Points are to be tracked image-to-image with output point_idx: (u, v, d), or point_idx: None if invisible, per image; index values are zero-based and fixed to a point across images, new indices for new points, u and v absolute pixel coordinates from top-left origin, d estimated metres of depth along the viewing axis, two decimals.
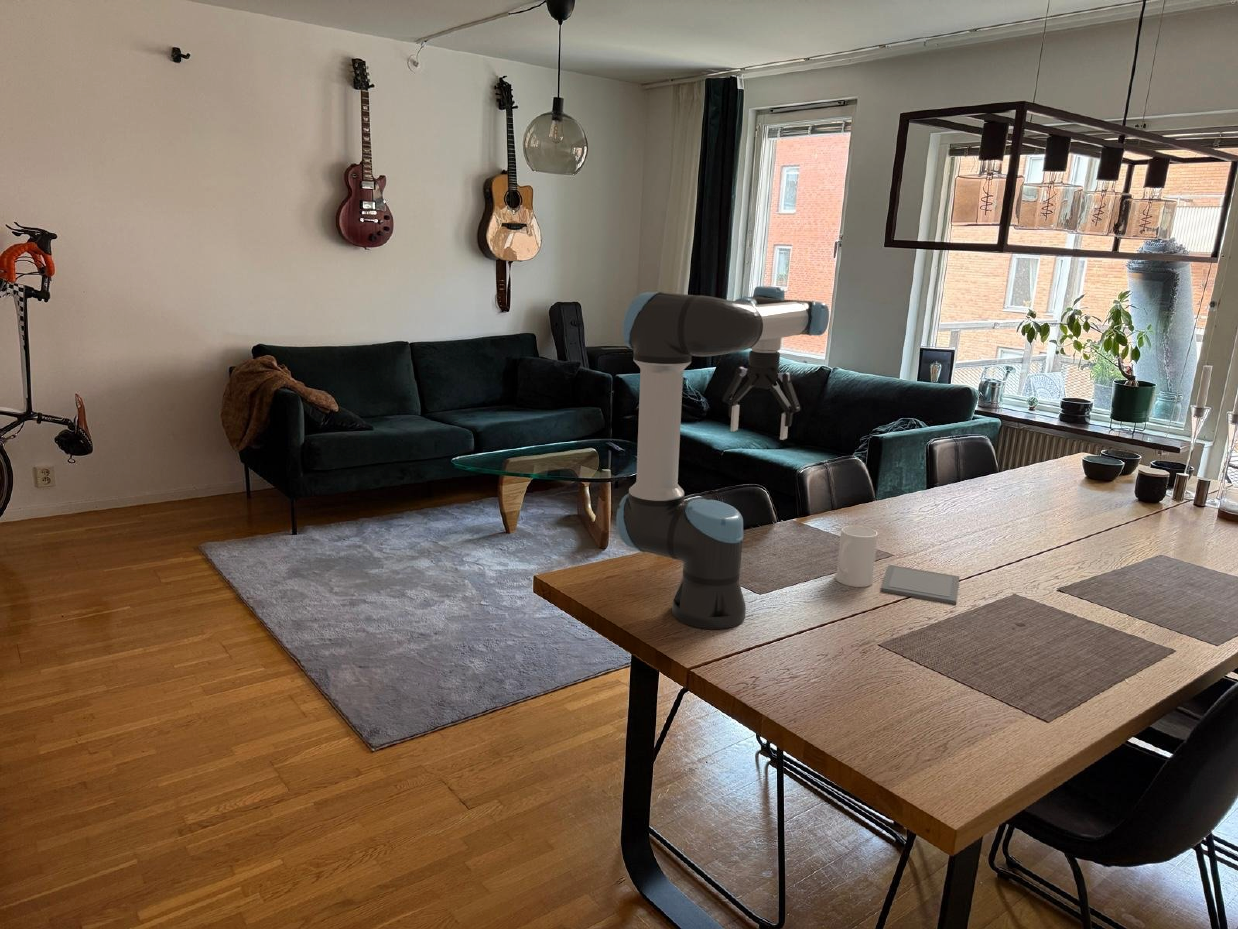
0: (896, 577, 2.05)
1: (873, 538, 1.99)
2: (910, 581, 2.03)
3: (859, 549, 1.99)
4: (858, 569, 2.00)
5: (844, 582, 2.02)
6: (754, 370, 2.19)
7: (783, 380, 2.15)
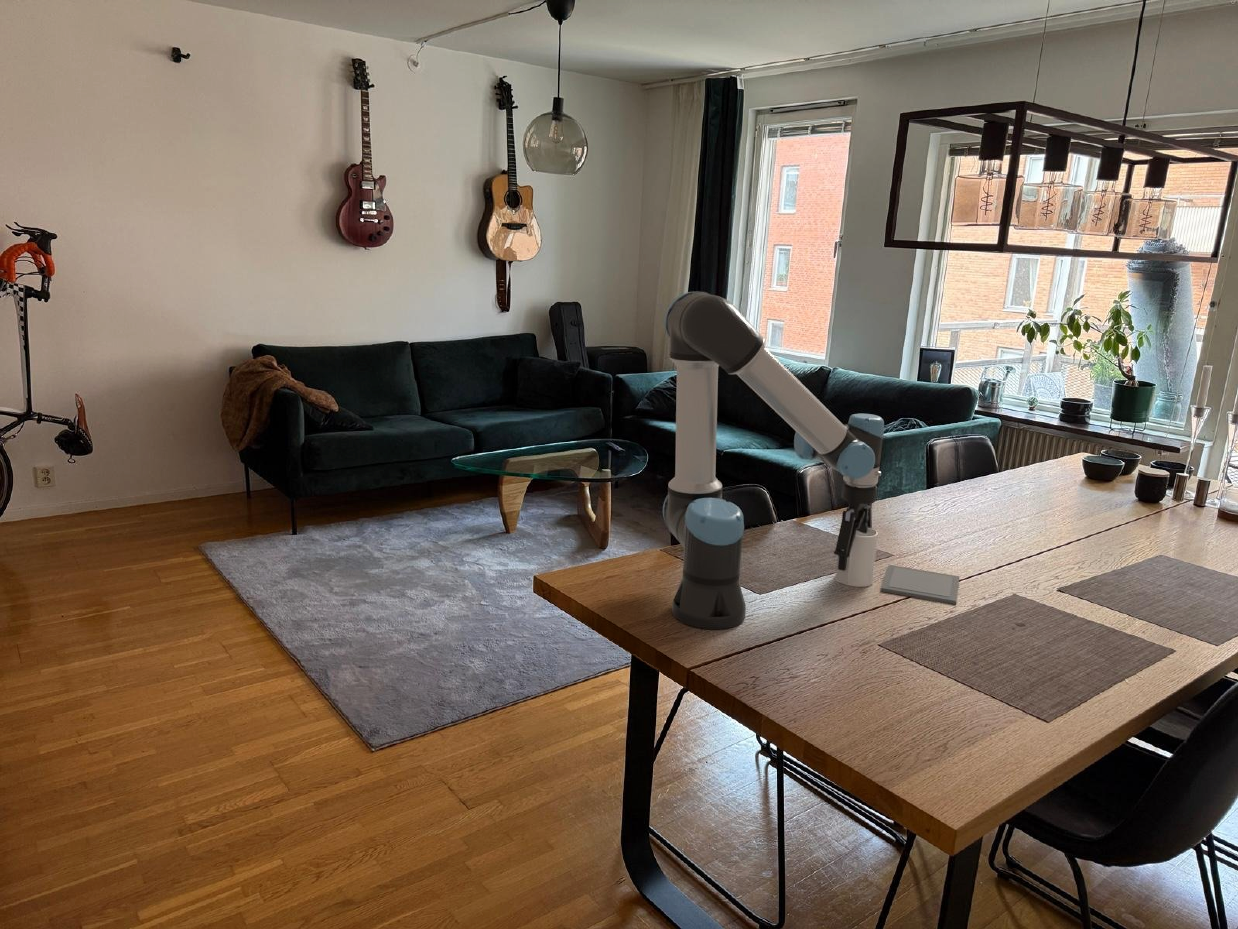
0: (896, 577, 2.05)
1: (873, 538, 1.99)
2: (910, 581, 2.03)
3: (859, 549, 1.99)
4: (858, 569, 2.00)
5: None
6: None
7: None
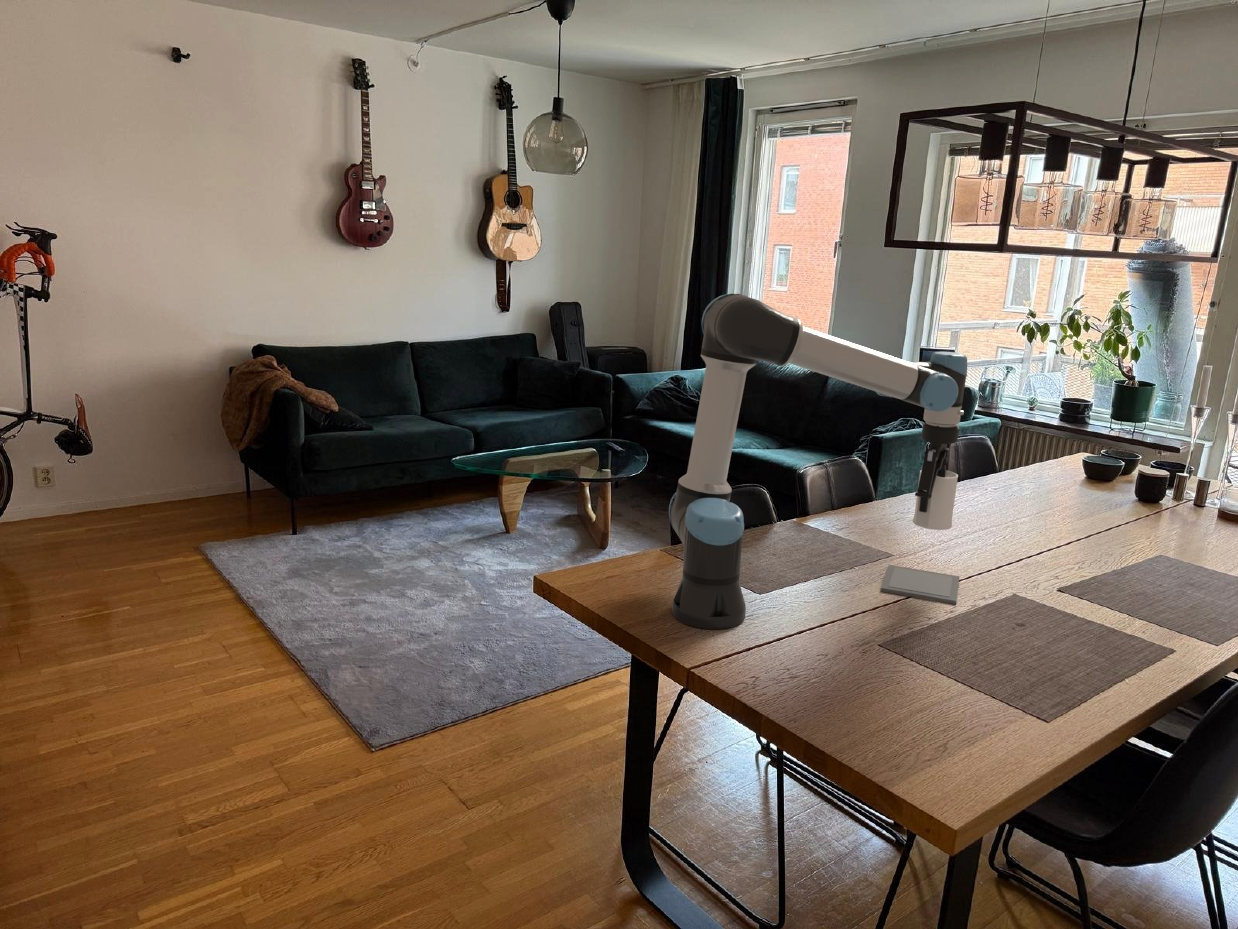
0: (896, 577, 2.05)
1: (954, 479, 1.94)
2: (910, 581, 2.03)
3: (940, 491, 1.94)
4: (938, 511, 1.96)
5: None
6: None
7: None
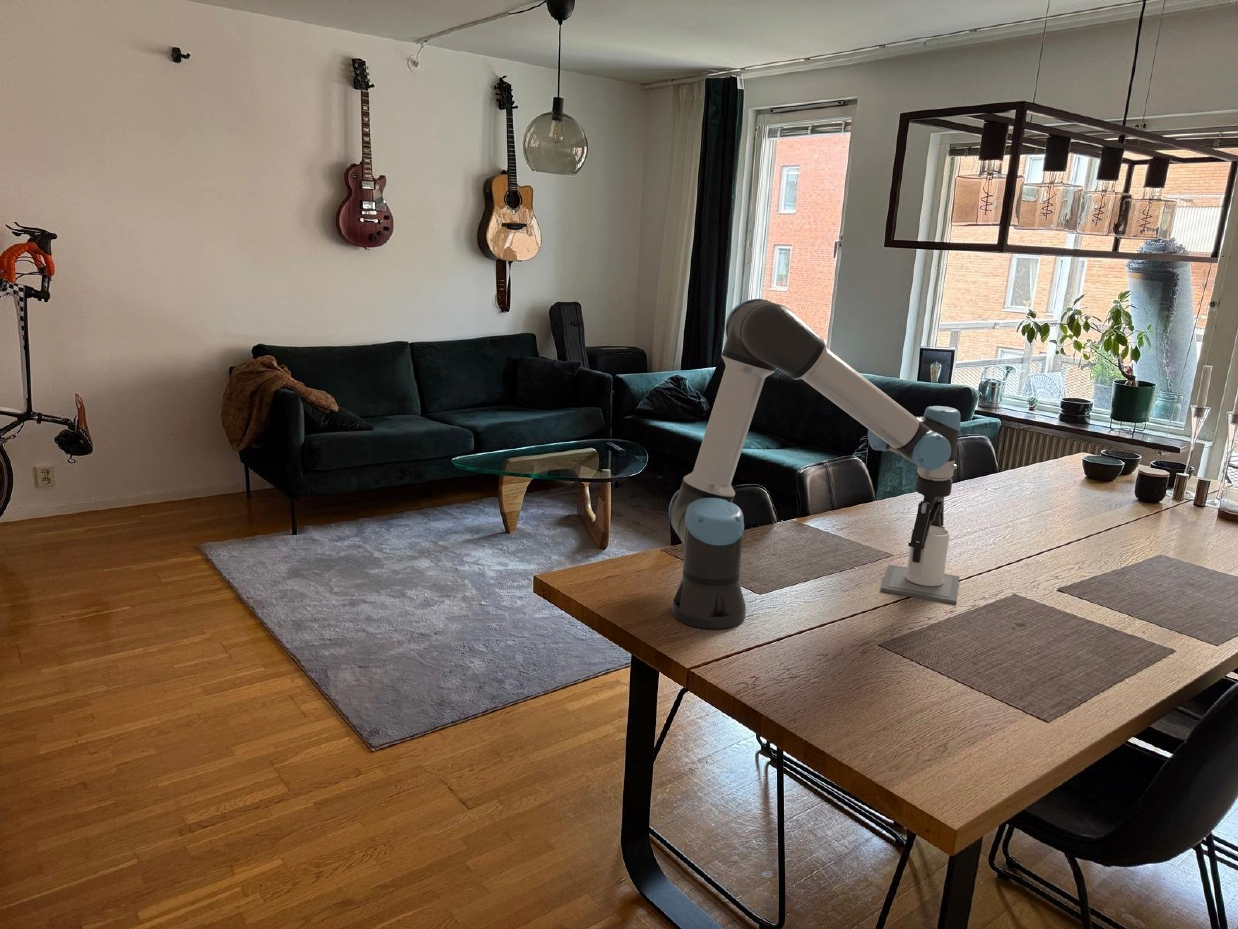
0: (896, 577, 2.05)
1: (946, 537, 1.98)
2: None
3: (931, 548, 1.98)
4: (930, 568, 1.99)
5: (915, 581, 2.01)
6: None
7: None
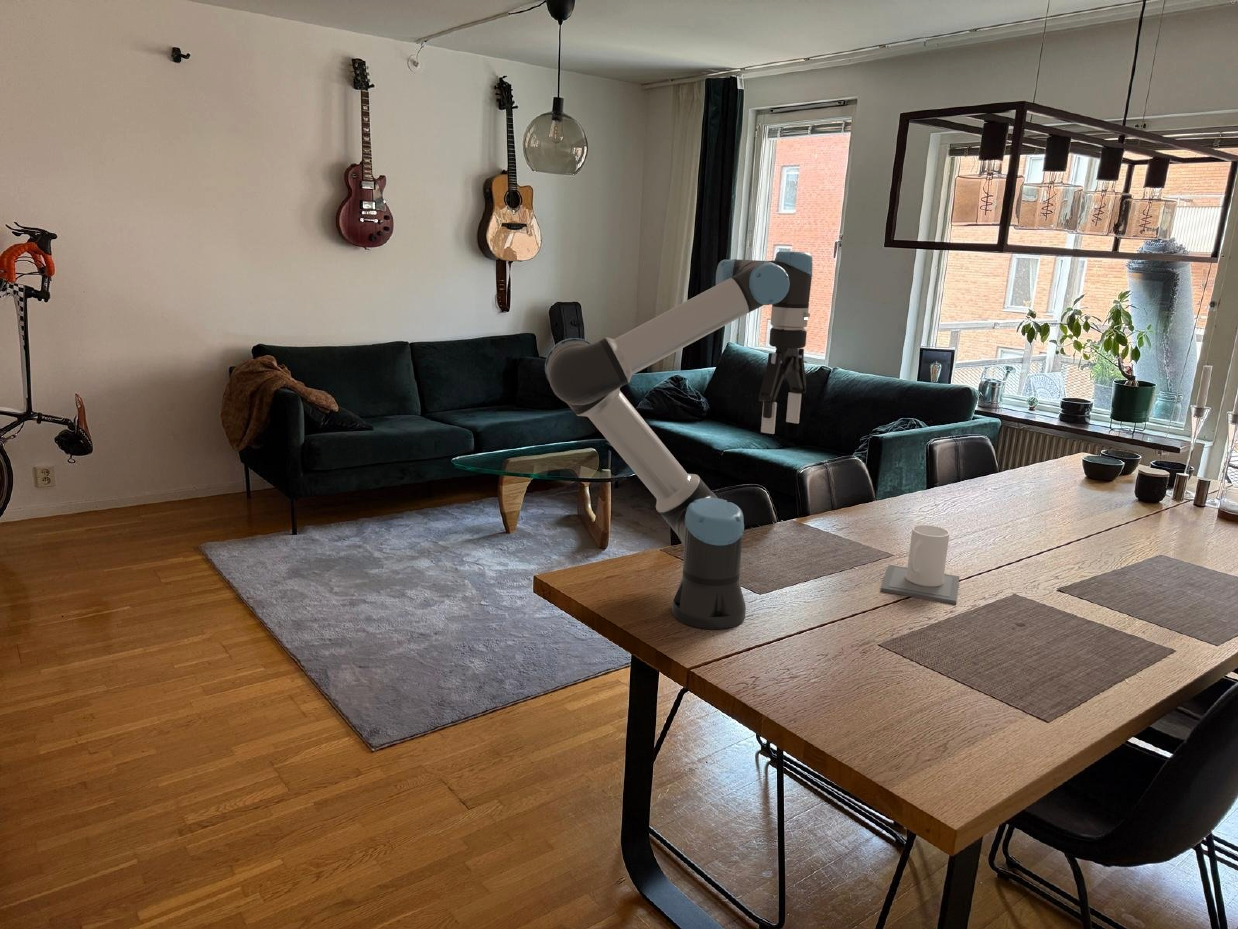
0: (896, 577, 2.05)
1: (945, 538, 1.98)
2: None
3: (931, 549, 1.98)
4: (930, 569, 1.99)
5: (915, 582, 2.01)
6: None
7: None
